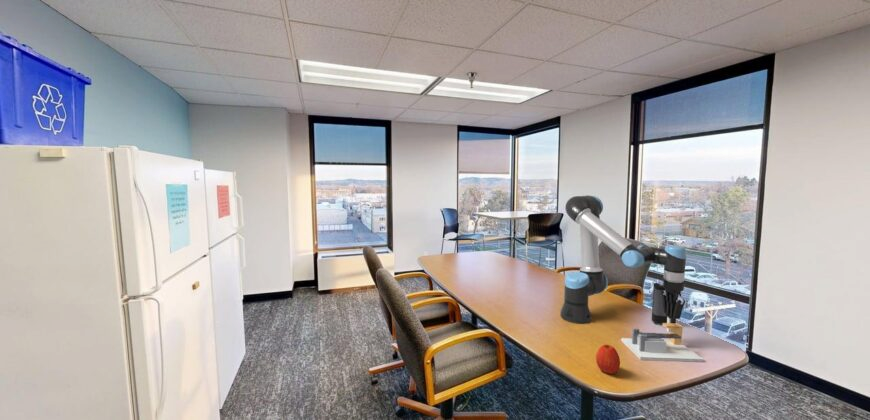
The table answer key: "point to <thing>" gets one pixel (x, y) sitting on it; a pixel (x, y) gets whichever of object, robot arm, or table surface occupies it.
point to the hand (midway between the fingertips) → (670, 331)
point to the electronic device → (658, 305)
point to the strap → (660, 335)
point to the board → (664, 356)
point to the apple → (608, 359)
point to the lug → (675, 332)
